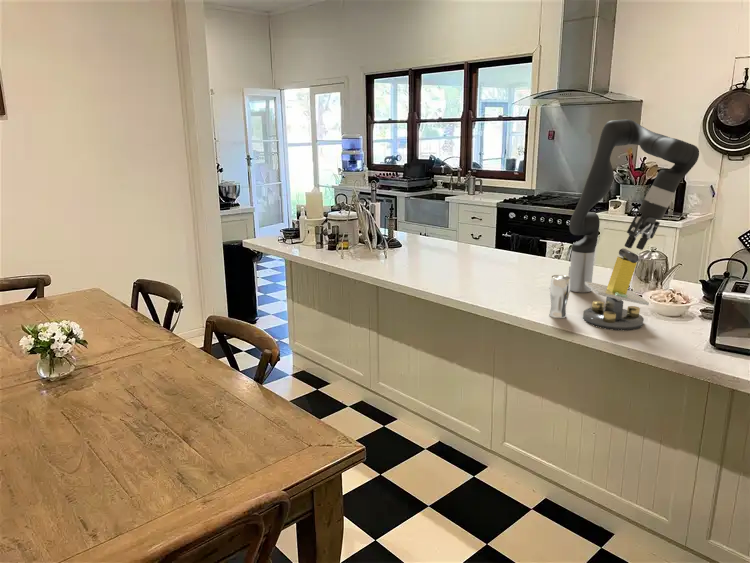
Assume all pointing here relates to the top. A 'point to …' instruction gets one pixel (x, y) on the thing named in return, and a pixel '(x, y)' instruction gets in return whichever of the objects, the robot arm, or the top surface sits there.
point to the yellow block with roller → (620, 279)
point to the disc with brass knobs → (613, 315)
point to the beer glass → (559, 295)
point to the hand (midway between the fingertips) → (633, 248)
